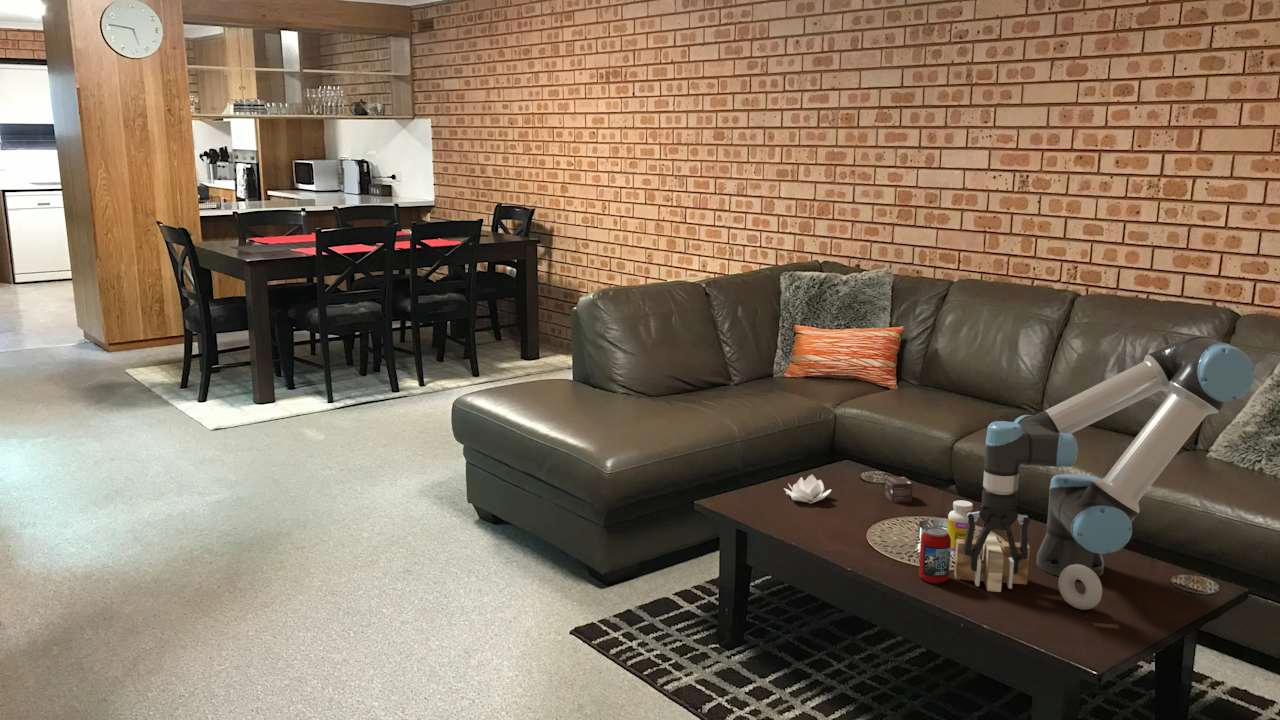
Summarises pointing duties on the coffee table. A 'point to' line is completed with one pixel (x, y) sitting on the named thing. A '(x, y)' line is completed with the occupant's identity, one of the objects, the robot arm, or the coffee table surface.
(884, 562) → the coffee table surface
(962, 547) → the oak rail
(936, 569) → the beverage can
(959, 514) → the supplement bottle
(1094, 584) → the donut
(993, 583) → the notched cream plank
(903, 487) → the box
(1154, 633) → the coffee table surface
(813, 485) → the lotus flower
